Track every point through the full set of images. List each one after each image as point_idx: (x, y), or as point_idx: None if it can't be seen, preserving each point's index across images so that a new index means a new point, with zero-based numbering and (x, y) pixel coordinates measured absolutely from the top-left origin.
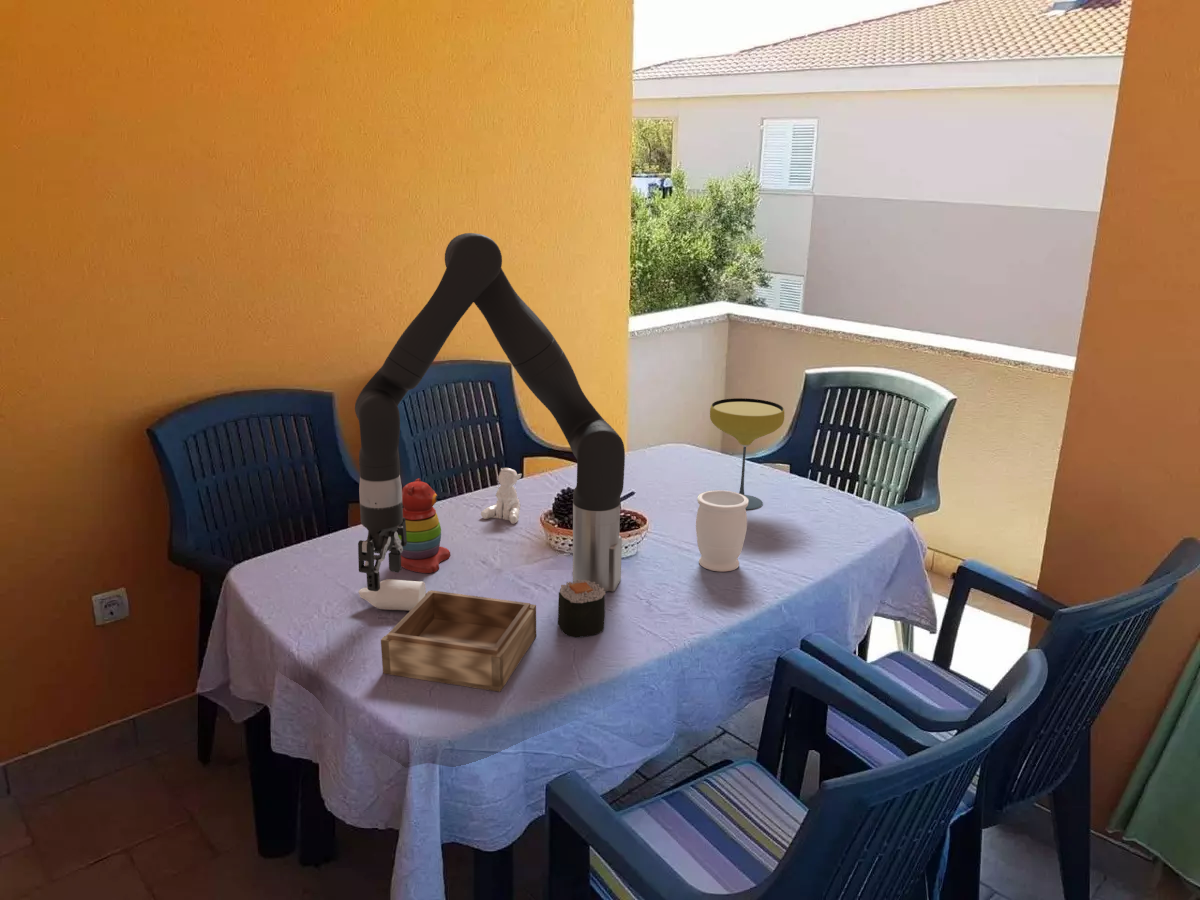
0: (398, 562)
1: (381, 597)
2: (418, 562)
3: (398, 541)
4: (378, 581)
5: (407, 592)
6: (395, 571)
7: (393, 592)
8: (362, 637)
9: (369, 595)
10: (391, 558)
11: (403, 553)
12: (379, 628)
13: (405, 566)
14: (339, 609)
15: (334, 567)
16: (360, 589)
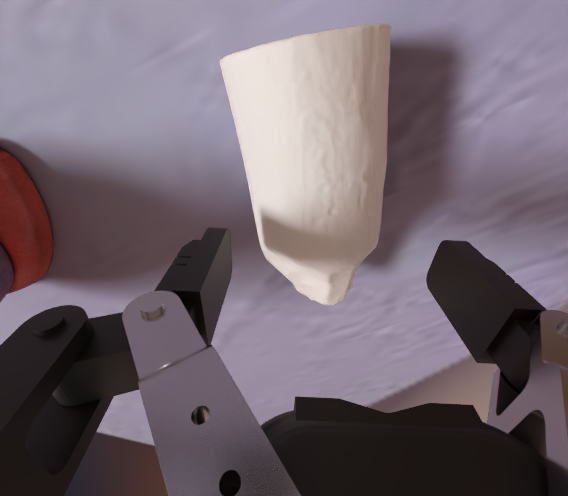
0: (215, 261)
1: (380, 220)
2: (3, 218)
3: (210, 430)
4: (488, 267)
5: (375, 107)
6: (230, 246)
7: (374, 183)
8: (524, 188)
9: (359, 265)
10: (216, 310)
11: (4, 286)
12: (467, 160)
13: (46, 251)
14: (344, 304)
15: None
16: (328, 304)
